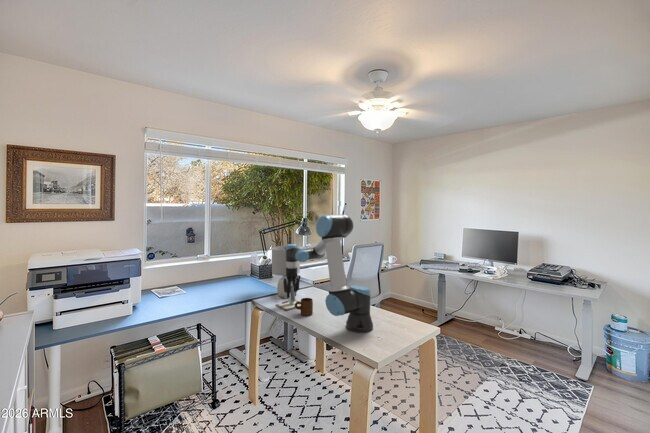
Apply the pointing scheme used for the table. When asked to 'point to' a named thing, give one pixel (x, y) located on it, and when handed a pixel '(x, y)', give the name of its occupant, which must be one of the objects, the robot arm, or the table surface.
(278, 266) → the lamp
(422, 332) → the table surface
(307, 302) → the mug
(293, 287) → the marker
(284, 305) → the clipboard
